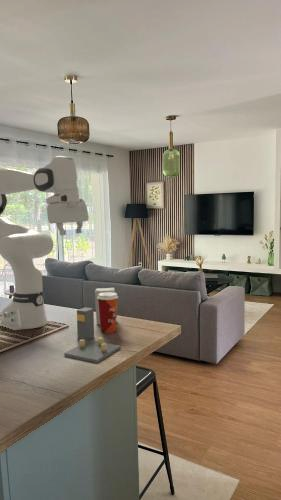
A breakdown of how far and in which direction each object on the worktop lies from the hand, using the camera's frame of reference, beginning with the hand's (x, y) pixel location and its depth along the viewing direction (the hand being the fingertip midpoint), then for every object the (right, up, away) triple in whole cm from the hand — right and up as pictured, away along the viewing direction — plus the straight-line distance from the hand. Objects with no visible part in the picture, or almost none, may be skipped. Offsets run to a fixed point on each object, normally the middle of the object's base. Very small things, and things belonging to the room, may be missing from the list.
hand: (71, 234), depth 142 cm
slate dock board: (+11, -41, -19) cm, 46 cm away
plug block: (+6, -39, -4) cm, 40 cm away
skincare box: (+12, -38, +15) cm, 42 cm away
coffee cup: (+14, -39, +4) cm, 41 cm away
